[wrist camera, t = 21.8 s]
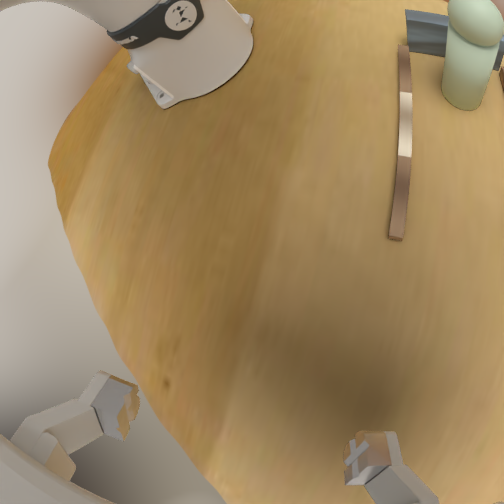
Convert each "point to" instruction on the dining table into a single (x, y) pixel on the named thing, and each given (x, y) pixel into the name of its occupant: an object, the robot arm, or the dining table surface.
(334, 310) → the dining table surface
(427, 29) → the track
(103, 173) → the dining table surface
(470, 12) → the pawn
